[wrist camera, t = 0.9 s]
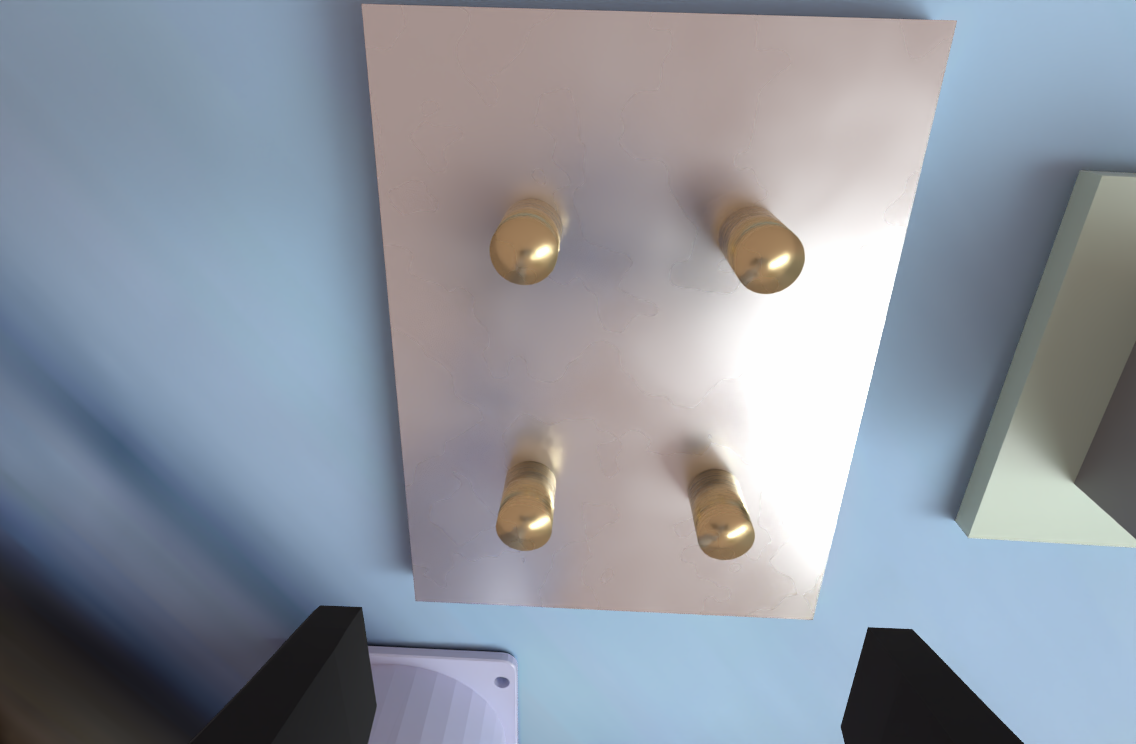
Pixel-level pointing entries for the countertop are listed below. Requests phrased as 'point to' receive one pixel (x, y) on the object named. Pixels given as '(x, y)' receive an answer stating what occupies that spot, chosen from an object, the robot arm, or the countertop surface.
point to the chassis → (638, 291)
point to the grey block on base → (1069, 389)
